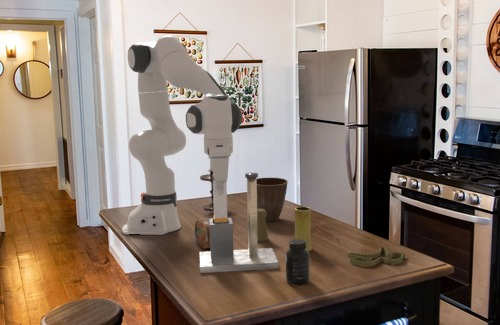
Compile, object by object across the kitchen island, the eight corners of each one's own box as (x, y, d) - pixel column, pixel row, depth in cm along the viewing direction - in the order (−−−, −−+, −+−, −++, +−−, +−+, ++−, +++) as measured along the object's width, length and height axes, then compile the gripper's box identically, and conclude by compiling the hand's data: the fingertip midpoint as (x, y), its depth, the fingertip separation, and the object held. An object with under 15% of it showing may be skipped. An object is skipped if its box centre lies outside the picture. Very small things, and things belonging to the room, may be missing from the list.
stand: (200, 272, 170) (196, 180, 165) (199, 257, 183) (196, 171, 178) (278, 268, 172) (277, 177, 167) (272, 253, 186) (270, 168, 181)
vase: (313, 247, 191) (313, 206, 189) (309, 252, 186) (309, 211, 183) (296, 245, 193) (296, 205, 191) (291, 251, 188) (291, 210, 185)
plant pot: (295, 220, 225) (295, 181, 223) (265, 226, 217) (264, 186, 214) (273, 212, 237) (272, 176, 235) (244, 218, 229) (243, 180, 227)
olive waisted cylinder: (266, 241, 199) (266, 211, 197) (250, 241, 200) (249, 211, 198) (269, 236, 204) (269, 207, 203) (253, 236, 206) (252, 207, 204)
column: (214, 240, 173) (212, 176, 170) (214, 236, 178) (212, 174, 174) (228, 239, 174) (226, 176, 170) (227, 235, 178) (225, 173, 175)
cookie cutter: (387, 251, 187) (387, 245, 187) (411, 262, 176) (411, 256, 176) (341, 259, 180) (341, 253, 180) (363, 271, 169) (363, 265, 169)
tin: (194, 240, 203) (193, 217, 201) (202, 238, 204) (202, 216, 202) (207, 252, 189) (206, 228, 187) (215, 250, 190) (215, 227, 188)
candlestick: (196, 208, 248) (193, 130, 242) (215, 203, 255) (212, 127, 249) (211, 212, 240) (209, 131, 234) (230, 207, 247) (228, 129, 242)
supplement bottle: (284, 277, 165) (284, 238, 163) (307, 276, 165) (307, 237, 163) (287, 286, 158) (287, 245, 156) (311, 285, 158) (311, 244, 156)
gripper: (207, 143, 181) (208, 184, 183) (209, 152, 161) (210, 199, 163) (226, 142, 181) (227, 184, 184) (231, 151, 161) (232, 198, 164)
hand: (219, 191), depth 173 cm, fingers open, 8 cm apart
